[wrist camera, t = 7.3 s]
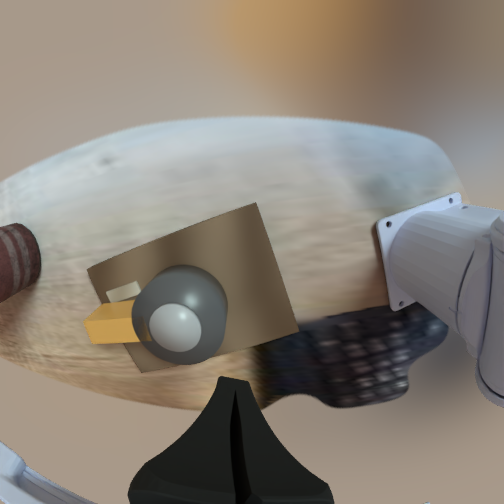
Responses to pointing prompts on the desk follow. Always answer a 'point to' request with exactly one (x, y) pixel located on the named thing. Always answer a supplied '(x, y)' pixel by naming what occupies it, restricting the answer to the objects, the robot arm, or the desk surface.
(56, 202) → the desk surface
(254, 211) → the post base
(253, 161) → the desk surface
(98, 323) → the toy saucepan
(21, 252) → the can
